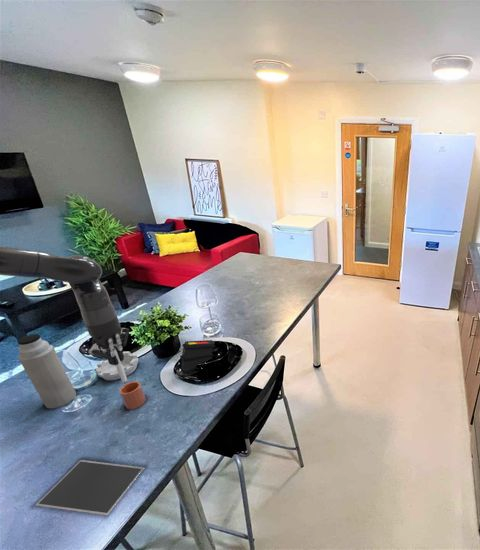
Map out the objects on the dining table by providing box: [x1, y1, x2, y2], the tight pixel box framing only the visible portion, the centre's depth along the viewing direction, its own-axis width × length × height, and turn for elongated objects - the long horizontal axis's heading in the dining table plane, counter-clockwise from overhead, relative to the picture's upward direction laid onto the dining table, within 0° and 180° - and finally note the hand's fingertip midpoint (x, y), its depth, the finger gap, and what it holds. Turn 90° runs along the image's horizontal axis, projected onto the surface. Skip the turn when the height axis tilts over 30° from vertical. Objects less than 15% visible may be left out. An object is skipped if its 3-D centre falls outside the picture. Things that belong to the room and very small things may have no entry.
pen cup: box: [119, 381, 147, 410], centre depth 103 cm, size 6×6×8 cm
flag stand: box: [95, 351, 139, 381], centre depth 113 cm, size 13×13×30 cm
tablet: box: [34, 459, 145, 516], centre depth 79 cm, size 12×20×1 cm, turn 85°
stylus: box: [114, 349, 128, 385], centre depth 97 cm, size 1×1×14 cm
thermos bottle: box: [17, 333, 77, 410], centre depth 99 cm, size 8×8×28 cm
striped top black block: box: [179, 339, 216, 378], centre depth 120 cm, size 4×13×15 cm, turn 140°
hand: (117, 362), depth 96 cm, fingers closed on stylus, 1 cm apart
